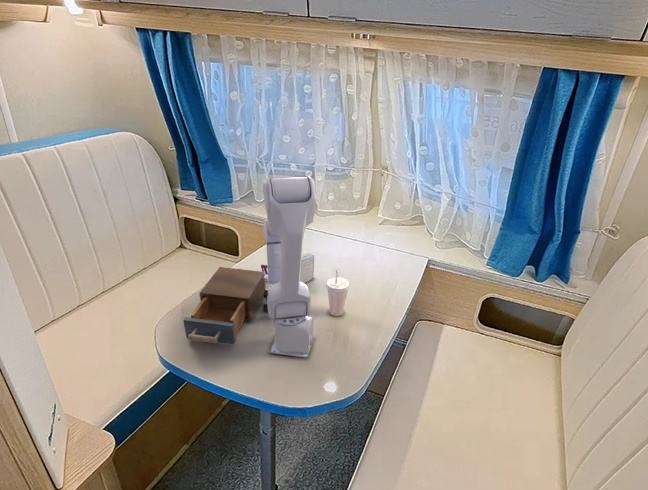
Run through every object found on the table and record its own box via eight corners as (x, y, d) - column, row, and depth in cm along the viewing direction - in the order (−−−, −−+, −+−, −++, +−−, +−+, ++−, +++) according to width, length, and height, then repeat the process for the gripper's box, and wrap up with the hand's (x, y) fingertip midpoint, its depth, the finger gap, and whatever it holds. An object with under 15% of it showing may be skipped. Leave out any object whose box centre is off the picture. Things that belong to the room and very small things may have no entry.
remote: (267, 304, 124) (267, 295, 123) (294, 307, 124) (294, 298, 122) (263, 312, 121) (263, 303, 119) (291, 315, 120) (291, 306, 119)
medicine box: (304, 274, 140) (304, 250, 136) (314, 278, 138) (314, 254, 133) (286, 283, 135) (286, 258, 130) (297, 288, 133) (297, 263, 128)
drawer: (228, 355, 103) (226, 336, 100) (179, 349, 104) (175, 330, 101) (250, 314, 118) (249, 296, 115) (207, 308, 119) (205, 291, 116)
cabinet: (250, 321, 117) (248, 298, 113) (202, 316, 118) (199, 292, 114) (265, 293, 129) (264, 271, 125) (222, 288, 130) (219, 266, 126)
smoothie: (321, 308, 124) (323, 265, 116) (342, 303, 126) (344, 261, 118) (330, 320, 119) (332, 276, 111) (351, 315, 121) (354, 272, 114)
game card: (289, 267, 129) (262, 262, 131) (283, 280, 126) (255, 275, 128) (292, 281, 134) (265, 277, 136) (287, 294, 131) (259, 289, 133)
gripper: (270, 249, 121) (272, 290, 128) (255, 274, 109) (258, 318, 116) (295, 252, 120) (295, 293, 127) (282, 277, 108) (283, 321, 115)
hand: (279, 305), depth 121 cm, fingers open, 7 cm apart
